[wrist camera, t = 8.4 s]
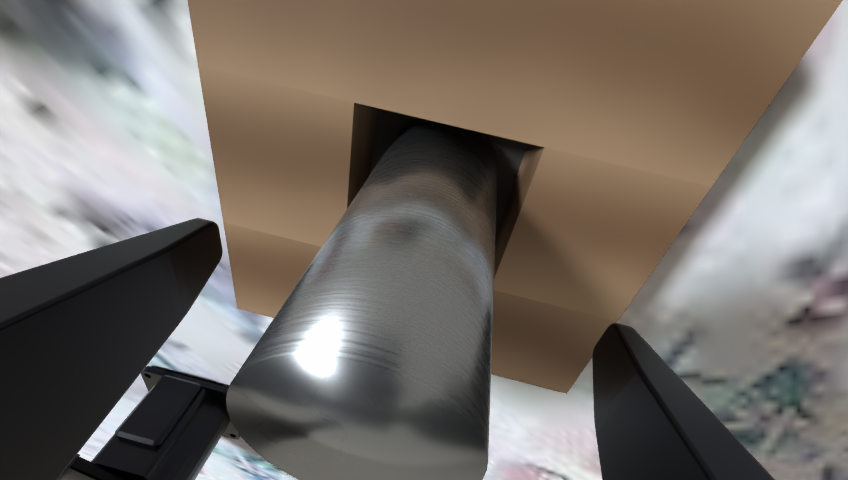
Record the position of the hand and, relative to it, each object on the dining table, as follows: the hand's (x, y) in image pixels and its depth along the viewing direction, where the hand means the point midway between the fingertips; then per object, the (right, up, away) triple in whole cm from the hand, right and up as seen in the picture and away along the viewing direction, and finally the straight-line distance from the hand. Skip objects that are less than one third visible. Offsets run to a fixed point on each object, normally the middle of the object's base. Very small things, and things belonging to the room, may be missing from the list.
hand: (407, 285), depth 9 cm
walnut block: (+1, +4, +6) cm, 7 cm away
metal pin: (+1, +4, +5) cm, 6 cm away
